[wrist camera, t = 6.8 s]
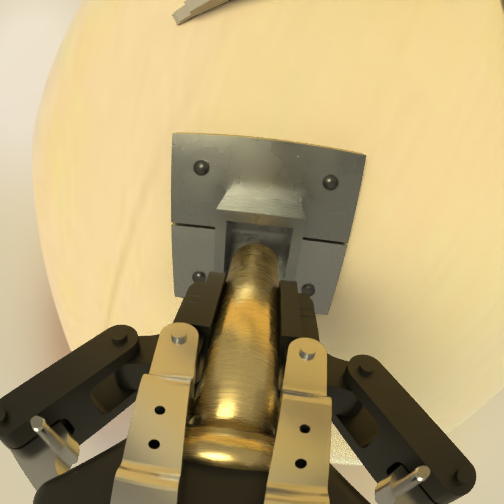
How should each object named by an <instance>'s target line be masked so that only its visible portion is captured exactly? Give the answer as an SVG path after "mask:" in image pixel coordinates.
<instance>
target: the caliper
mask: <svg viewBox="0 0 504 504" xmlns="http://www.w3.org/2000/svg"><path fill="white" fill-rule="evenodd" d="M227 1H229V0H186V1H185V2H184V3H185V6H183V7H181V8H180V9H178V10H176V11H175V12H174V13H173V14H172V16H173V17H174V19H175V21H176V23H177V25H179V24H181V23H183V22H185V21H186V20H188V19H189V18H191V17H193V16H194V15H196V16H197V15H199V14H201V13H203V12H206V11H208V10H210V9H212V8H214V7H217V6H219V5H221V4H223V3H225V2H227Z"/></svg>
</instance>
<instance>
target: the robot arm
mask: <svg viewBox="0 0 504 504" xmlns="http://www.w3.org/2000/svg"><path fill="white" fill-rule="evenodd" d="M225 285H226V273H220V272H212V271H210V272H209V274H208V277H207V279H206V282H202V281H196V282H194V283H193V284H192V285H191V286H189V288H188V290H187V292H186V296H185V297H184V299H183V302H182V303H181V306H180V308H179V310H178V312H177V315H176V317H175V319H174V322H173V323H172V324H169V325H167V326H166V327H164V328H163V329H162V330H161V332H160V334H158V335H152V336H138V334H137V332H136V330H135V329H134V328H132V327H130V326H127V325H116V326H113V327H110V328H108V329H107V330H105V331H104V332H102V333H101V334H99V335H97V336H96V337H94V338H93V339H91V340H90V341H88V342H86V343H85V344H83V345H82V346H80V347H79V348H77V349H76V350H74V351H72V352H71V353H70V354H68V355H66V356H65V357H63V358H62V359H60V360H58V361H57V362H55V363H54V364H52V365H51V366H49V367H48V368H46V369H45V370H43V371H42V372H40V373H38V374H37V375H35V376H34V377H32V378H31V379H29V380H28V381H26V382H25V383H23V384H22V385H20V386H19V387H17V388H16V389H14V390H13V391H11V392H10V393H8V394H7V395H5V396H4V397H2V398H1V399H0V440H1V441H2V443H3V444H4V445H5V446H6V447H8V448H9V449H10V450H11V452H12V453H13V455H14V457H15V458H16V460H17V462H18V463H19V465H20V467H21V468H22V470H23V471H24V473H25V475H26V476H27V478H28V479H29V480H30V482H31V483H32V485H33V486H34V488H35V489H36V490H37V492H36V494H35V497H34V500H33V504H370V503H369V502H368V501H367V500H366V499H365V498H364V497H363V496H362V495H361V494H360V493H359V492H358V491H357V490H356V489H355V488H354V487H353V486H352V485H351V484H350V483H348V481H347V480H346V479H345V478H344V477H343V476H342V475H341V474H340V473H339V472H338V471H337V470H336V469H335V468H334V467H333V466H332V465H331V464H330V463H329V462H330V445H331V421H332V422H333V424H334V425H335V427H336V428H337V429H338V431H339V432H340V434H341V435H342V436H343V438H344V439H345V440H346V442H347V443H348V445H349V446H350V447H351V449H352V450H353V451H354V453H355V454H356V455H357V457H358V458H359V460H360V461H361V462H362V464H363V465H364V466H365V468H366V469H367V470H368V472H369V473H370V474H371V476H372V477H373V478H374V480H375V481H376V482H377V486H376V488H375V500H376V502H377V503H378V504H448V503H450V502H452V501H454V500H456V499H458V498H460V497H462V496H464V495H465V494H467V493H468V492H470V491H471V489H472V488H473V486H474V484H475V481H476V471H475V468H474V467H473V465H472V464H471V463H470V461H469V460H468V459H467V458H466V457H465V456H464V455H463V453H462V452H461V451H460V450H459V449H458V448H457V447H456V446H455V444H454V443H453V442H452V441H451V440H450V439H449V438H448V437H447V436H446V434H445V433H444V432H443V431H442V430H441V429H440V428H439V427H438V425H437V424H436V423H435V422H434V421H433V420H432V419H431V418H430V417H429V415H428V414H427V413H426V412H425V411H424V410H423V409H422V408H421V407H420V406H419V404H418V403H417V402H416V401H415V400H414V399H413V398H412V397H411V396H410V395H409V393H408V392H407V391H406V390H405V389H404V388H403V387H402V386H401V385H400V384H399V383H398V382H397V380H396V379H395V378H394V377H393V376H392V375H391V374H390V373H389V372H388V371H387V370H386V369H385V368H384V366H383V365H382V364H381V363H380V362H379V361H378V360H376V359H375V358H373V357H371V356H368V355H357V356H354V357H353V358H351V359H350V361H349V362H348V361H344V360H341V359H338V358H335V357H333V356H331V355H329V354H328V353H327V351H326V349H325V347H324V346H323V345H322V344H321V343H320V341H319V334H318V328H317V322H316V318H315V317H316V316H315V311H314V304H313V301H312V299H311V298H310V297H309V296H308V294H303V293H298V287H297V282H296V281H287V280H280V282H279V287H278V320H279V323H278V350H279V390H278V406H277V412H276V418H275V425H274V428H275V434H274V435H272V434H264V435H266V436H270V437H272V438H274V443H273V448H272V454H271V459H270V465H269V468H268V470H267V471H253V470H242V469H233V468H225V467H218V466H211V465H205V464H200V463H194V462H189V461H185V458H184V454H185V444H186V435H187V428H188V427H201V426H199V425H193V424H189V421H190V420H191V419H192V413H193V406H194V401H195V397H196V393H197V389H198V385H199V381H200V377H201V374H202V370H203V366H204V362H205V358H206V354H207V351H208V347H209V343H210V341H211V337H212V333H213V329H214V326H215V322H216V318H217V314H218V311H219V307H220V303H221V299H222V296H223V292H224V288H225ZM135 401H136V402H135ZM133 402H135V406H134V410H133V414H132V418H131V422H130V427H129V431H128V436H127V438H126V439H124V440H123V441H121V442H119V443H118V444H116V445H114V446H112V447H111V448H109V449H107V450H106V451H104V452H102V453H100V454H99V455H97V456H95V457H93V458H91V459H89V460H88V461H86V462H84V463H82V464H80V465H79V466H76V467H75V468H72V469H70V468H71V466H72V464H75V463H76V462H77V461H78V456H79V451H80V449H79V445H80V444H82V443H83V442H84V441H85V440H87V439H88V438H90V437H91V436H92V435H93V434H95V433H96V432H97V431H99V430H100V429H101V428H102V427H104V426H105V425H106V424H107V423H109V422H110V421H111V420H112V419H114V418H115V417H116V416H117V415H119V414H120V413H121V412H122V411H124V410H125V409H126V408H127V407H129V406H130V405H131V404H132V403H133Z"/></svg>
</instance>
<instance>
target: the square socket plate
mask: <svg viewBox="0 0 504 504" xmlns="http://www.w3.org/2000/svg"><path fill="white" fill-rule="evenodd" d="M365 159H366V155H364V154H362V153H357V152H353V151H347V150H342V149H337V148H331V147H326V146H320V145H313V144H307V143H300V142H293V141H286V140H278V139H269V138H260V137H249V136H238V135H224V134H206V133H173V136H172V166H171V222H173V224H172V225H171V226H172V257H173V276H174V292H175V297H182V298H184V297H185V296H186V292H187V290H188V288H189V286H191V285H192V284H193V283H194V282H196V281H202V282H206V279H207V277H208V274H209V272H210V271H212V272H220V273H226V280H227V277H228V273H229V269H230V266H231V262H232V259H233V256H234V254H235V252H236V251H237V250H238V249H239V248H240V247H242V246H244V245H246V244H250V243H259V244H263V245H265V246H267V247H269V248H270V249H272V250H273V251H274V253H275V254H276V256H277V258H278V267H279V282H280V280H287V281H296V282H297V287H298V293H303V294H308V296H309V297H310V298H311V299H312V301H313V304H314V311H315V314H326V315H328V311H329V308H330V305H331V302H332V298H333V295H334V292H335V288H336V285H337V281H338V278H339V274H340V270H341V267H342V263H343V259H344V255H345V252H346V248H347V244H346V243H348V240H349V236H350V231H351V227H352V223H353V219H354V214H355V210H356V205H357V200H358V196H359V191H360V186H361V181H362V175H363V170H364V164H365Z"/></svg>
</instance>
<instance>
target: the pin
mask: <svg viewBox="0 0 504 504" xmlns="http://www.w3.org/2000/svg"><path fill="white" fill-rule="evenodd" d="M278 287H279V267H278V258H277V256H276V254H275V253H274V251H273V250H272V249H270V248H269V247H267V246H265V245H263V244H259V243H250V244H246V245H244V246H242V247H240V248H239V249H238V250H237V251H236V252H235V254H234V256H233V259H232V262H231V266H230V269H229V273H228V277H227V280H226V285H225V288H224V292H223V296H222V299H221V303H220V307H219V311H218V314H217V318H216V322H215V326H214V329H213V333H212V337H211V341H210V343H209V347H208V351H207V354H206V358H205V362H204V366H203V370H202V374H201V377H200V381H199V385H198V389H197V393H196V397H195V401H194V406H193V413H192V419H191V420H190V421H189V424H193V425H199V426H201V427H188V428H187V435H186V444H185V454H184V458H185V461H189V462H194V463H200V464H205V465H211V466H218V467H225V468H233V469H242V470H253V471H267V470H268V468H269V465H270V459H271V454H272V448H273V443H274V438H272V437H270V436H266V435H264V434H272V435H274V434H275V428H274V425H275V418H276V412H277V406H278V390H279V350H278V323H279V320H278Z"/></svg>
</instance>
